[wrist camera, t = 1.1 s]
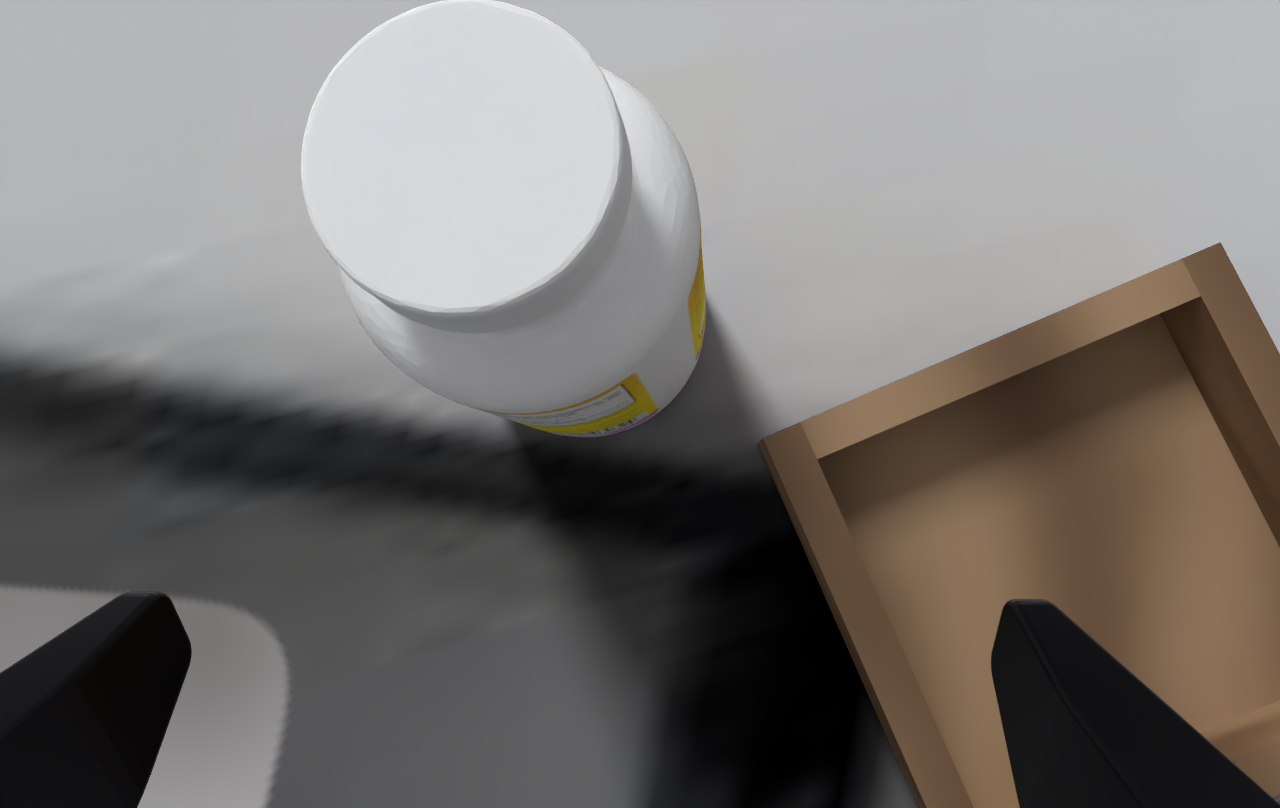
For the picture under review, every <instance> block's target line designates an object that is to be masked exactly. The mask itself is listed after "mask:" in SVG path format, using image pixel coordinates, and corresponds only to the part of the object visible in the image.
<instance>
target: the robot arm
mask: <svg viewBox="0 0 1280 808" xmlns="http://www.w3.org/2000/svg"><path fill="white" fill-rule="evenodd" d="M190 661H191V643H190V640H189V638H188V635H187V633H186V631H185V629H184V627H183V625H182V623H181V620H180V618H179V616H178V614H177V612H176V610H175V607H174V605H173V603H172V601H171V599H170V598H169V597H168V596H167V595H166V594H164V593H162V592H154V591H131V592H126V593H123V594H121V595H119V596H118V597H116V598H115V599H113V600H112V601H110V602H108V603H107V604H106V605H104V606H102V607H101V608H99V609H98V610H96V611H95V612H93V613H92V614H90V615H89V616H87V617H85V618H84V619H82V620H81V621H79V622H78V623H76V624H75V625H73V626H72V627H70V628H69V629H67V630H66V631H64V632H62V633H61V634H59V635H58V636H56V637H55V638H53V639H52V640H50V641H49V642H47V643H45V644H44V645H42V646H41V647H39V648H38V649H36V650H35V651H33V652H32V653H30V654H29V655H27V656H26V657H24V658H23V659H21V660H19V661H18V662H16V663H15V664H13V665H12V666H10V667H9V668H7V669H6V670H4V671H2V672H1V673H0V808H137V806H138V804H139V802H140V800H141V797H142V795H143V793H144V790H145V788H146V785H147V783H148V780H149V777H150V775H151V772H152V769H153V767H154V764H155V761H156V758H157V755H158V752H159V749H160V747H161V744H162V741H163V739H164V736H165V733H166V730H167V727H168V724H169V722H170V719H171V716H172V713H173V710H174V707H175V705H176V702H177V699H178V696H179V694H180V691H181V688H182V685H183V682H184V680H185V677H186V674H187V671H188V668H189V665H190ZM991 672H992V678H993V683H994V688H995V693H996V698H997V702H998V707H999V712H1000V717H1001V722H1002V726H1003V731H1004V736H1005V741H1006V746H1007V750H1008V755H1009V760H1010V765H1011V770H1012V774H1013V779H1014V784H1015V789H1016V793H1017V798H1018V802H1019V807H1020V808H1280V803H1279V802H1278V801H1277V800H1275V799H1274V798H1273V797H1272V796H1271V795H1270V794H1269V793H1268V792H1266V791H1265V790H1264V789H1263V788H1262V787H1261V786H1260V785H1258V784H1257V783H1256V782H1255V781H1254V780H1253V779H1252V778H1251V777H1249V776H1248V775H1247V774H1246V773H1245V772H1244V771H1243V770H1242V769H1240V768H1239V767H1238V766H1237V765H1236V764H1235V763H1234V762H1232V761H1231V760H1230V759H1229V758H1228V757H1227V756H1226V755H1225V754H1223V753H1222V752H1221V751H1220V750H1219V749H1218V748H1217V747H1215V746H1214V745H1213V744H1212V743H1211V742H1210V741H1209V740H1208V739H1206V738H1205V737H1204V736H1203V735H1202V734H1201V733H1200V732H1198V731H1197V730H1196V729H1195V728H1194V727H1193V726H1192V725H1191V724H1189V723H1188V722H1187V721H1186V720H1185V719H1184V718H1183V717H1182V716H1180V715H1179V714H1178V713H1177V712H1176V711H1175V710H1174V709H1172V708H1171V707H1170V706H1169V705H1168V704H1167V703H1166V702H1165V701H1163V700H1162V699H1161V698H1160V697H1159V696H1158V695H1157V694H1155V693H1154V692H1153V691H1152V690H1151V689H1150V688H1149V687H1148V686H1146V685H1145V684H1144V683H1143V682H1142V681H1141V680H1140V679H1138V678H1137V677H1136V676H1135V675H1134V674H1133V673H1132V672H1131V671H1129V670H1128V669H1127V668H1126V667H1125V666H1124V665H1123V664H1122V663H1120V662H1119V661H1118V660H1117V659H1116V658H1115V657H1114V656H1112V655H1111V654H1110V653H1109V652H1108V651H1107V650H1106V649H1105V648H1103V647H1102V646H1101V645H1100V644H1099V643H1098V642H1097V641H1095V640H1094V639H1093V638H1092V637H1091V636H1090V635H1089V634H1088V633H1086V632H1085V631H1084V630H1083V629H1082V628H1081V627H1080V626H1078V625H1077V624H1076V623H1075V622H1074V621H1073V620H1072V619H1071V618H1069V617H1068V616H1067V615H1066V614H1065V613H1064V612H1063V611H1062V610H1060V609H1059V608H1058V607H1057V606H1056V605H1055V604H1053V603H1051V602H1050V601H1048V600H1044V599H1011V600H1009V601H1007V602H1006V603H1005V605H1004V607H1003V609H1002V613H1001V617H1000V621H999V625H998V629H997V633H996V637H995V641H994V645H993V649H992V654H991Z"/></svg>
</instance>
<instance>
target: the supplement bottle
mask: <svg viewBox="0 0 1280 808" xmlns="http://www.w3.org/2000/svg"><path fill="white" fill-rule="evenodd" d="M301 178H302V187H303V194H304V199H305V204H306V207H307V210H308V213H309V215H310V219H311V222H312V224H313V226H314V228H315V231H316V233H317V235H318V237H319V239H320V241H321V242H322V244H323V246H324V247H325V249H326V250H327V252H328V253H329V255H330V256H331V258H332V259H333V260H334V261H335V262H336V264H337V265H338V266H339V269H340V273H341V277H342V281H343V284H344V287H345V290H346V294H347V297H348V299H349V301H350V304H351V306H352V308H353V310H354V312H355V314H356V316H357V318H358V320H359V322H360V323H361V325H362V327H363V328H364V330H365V331H366V333H367V334H368V335H369V337H370V338H371V340H372V341H373V343H374V344H375V345H376V346H377V347H378V349H379V350H380V351H381V352H382V353H383V354H384V355H385V356H386V357H387V358H388V359H389V360H390V361H391V362H392V363H394V364H395V365H396V366H397V367H398V368H399V369H401V370H402V371H403V372H404V373H405V374H407V375H408V376H409V377H411V378H412V379H413V380H415V381H416V382H418V383H419V384H421V385H422V386H424V387H426V388H427V389H429V390H431V391H433V392H435V393H437V394H439V395H441V396H443V397H446V398H448V399H450V400H453V401H455V402H457V403H460V404H463V405H466V406H469V407H472V408H475V409H478V410H482V411H485V412H487V413H491V414H494V415H497V416H500V417H502V418H505V419H508V420H511V421H514V422H517V423H520V424H523V425H526V426H529V427H532V428H535V429H538V430H542V431H545V432H548V433H552V434H557V435H561V436H570V437H599V436H606V435H611V434H615V433H618V432H622V431H625V430H628V429H630V428H633V427H635V426H637V425H639V424H641V423H643V422H645V421H646V420H648V419H650V418H651V417H653V416H654V415H656V414H657V413H659V412H660V411H661V410H662V409H663V408H665V407H666V406H667V405H668V404H669V403H670V402H671V401H672V400H673V399H674V398H675V397H676V396H677V394H678V393H679V392H680V391H681V390H682V388H683V387H684V385H685V384H686V382H687V381H688V379H689V377H690V376H691V374H692V372H693V370H694V368H695V366H696V364H697V361H698V358H699V356H700V352H701V349H702V345H703V341H704V334H705V326H706V297H705V284H704V271H703V260H702V248H701V222H700V213H699V205H698V198H697V192H696V188H695V183H694V179H693V176H692V172H691V169H690V166H689V163H688V161H687V158H686V156H685V154H684V151H683V149H682V147H681V145H680V143H679V141H678V139H677V138H676V136H675V135H674V133H673V131H672V130H671V128H670V127H669V125H668V124H667V122H666V121H665V120H664V118H663V117H662V115H661V114H660V113H659V112H658V111H657V109H656V108H655V107H654V106H653V105H652V104H651V103H650V102H649V101H648V100H647V99H646V98H645V97H644V96H643V95H642V94H641V93H640V92H638V91H637V90H636V89H635V88H633V87H632V86H630V85H629V84H628V83H626V82H625V81H623V80H622V79H620V78H619V77H617V76H616V75H614V74H612V73H611V72H609V71H607V70H605V69H603V68H601V67H599V66H598V65H597V64H596V62H595V61H594V59H593V58H592V57H591V55H590V54H589V52H588V51H587V50H586V49H585V48H584V47H583V46H582V45H581V44H580V43H579V42H578V41H577V40H576V39H575V38H574V37H572V36H571V35H570V34H569V33H567V32H566V31H565V30H564V29H562V28H561V27H559V26H558V25H556V24H555V23H553V22H551V21H550V20H548V19H546V18H544V17H542V16H540V15H538V14H536V13H534V12H532V11H529V10H526V9H523V8H520V7H517V6H514V5H511V4H508V3H504V2H498V1H491V0H448V1H440V2H435V3H430V4H427V5H424V6H420V7H417V8H414V9H412V10H409V11H407V12H405V13H402V14H400V15H398V16H396V17H394V18H392V19H390V20H388V21H387V22H385V23H383V24H382V25H380V26H378V27H377V28H375V29H374V30H372V31H371V32H370V33H368V34H367V35H366V36H364V37H363V38H362V39H360V40H359V41H358V42H357V43H356V44H355V45H354V46H353V47H352V48H351V49H350V50H349V51H348V52H347V53H346V54H345V55H344V56H343V58H342V59H341V60H340V61H339V62H338V64H337V65H336V66H335V67H334V68H333V69H332V71H331V72H330V74H329V76H328V77H327V79H326V80H325V82H324V84H323V86H322V87H321V89H320V91H319V93H318V95H317V97H316V99H315V102H314V104H313V106H312V109H311V112H310V115H309V119H308V123H307V126H306V129H305V133H304V138H303V145H302V153H301Z"/></svg>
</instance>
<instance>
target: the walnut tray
mask: <svg viewBox="0 0 1280 808" xmlns="http://www.w3.org/2000/svg"><path fill="white" fill-rule="evenodd" d="M758 446H759V449H760V451H761V453H762V455H763V458H764V460H765V462H766V464H767V467H768V469H769V471H770V474H771V476H772V478H773V480H774V483H775V485H776V487H777V489H778V492H779V494H780V496H781V498H782V501H783V503H784V505H785V507H786V510H787V512H788V514H789V517H790V519H791V521H792V523H793V526H794V528H795V530H796V532H797V535H798V537H799V539H800V541H801V544H802V546H803V548H804V550H805V553H806V555H807V557H808V560H809V562H810V564H811V566H812V569H813V571H814V573H815V575H816V578H817V580H818V582H819V584H820V587H821V589H822V591H823V593H824V596H825V598H826V600H827V603H828V605H829V607H830V609H831V612H832V614H833V616H834V618H835V621H836V623H837V625H838V627H839V630H840V632H841V634H842V636H843V639H844V641H845V643H846V646H847V648H848V650H849V652H850V655H851V657H852V659H853V661H854V664H855V666H856V668H857V670H858V673H859V675H860V677H861V679H862V682H863V684H864V686H865V689H866V691H867V693H868V695H869V698H870V700H871V702H872V704H873V707H874V709H875V711H876V713H877V716H878V718H879V720H880V722H881V725H882V727H883V729H884V731H885V734H886V736H887V738H888V741H889V743H890V745H891V747H892V750H893V752H894V754H895V756H896V759H897V761H898V763H899V765H900V768H901V770H902V772H903V774H904V777H905V779H906V781H907V784H908V786H909V788H910V790H911V793H912V795H913V797H914V799H915V802H916V804H917V806H918V808H1020V807H1019V802H1018V798H1017V793H1016V789H1015V784H1014V779H1013V774H1012V770H1011V765H1010V760H1009V755H1008V750H1007V746H1006V741H1005V736H1004V731H1003V726H1002V722H1001V717H1000V712H999V707H998V702H997V698H996V693H995V688H994V683H993V678H992V672H991V654H992V649H993V645H994V641H995V637H996V633H997V629H998V625H999V621H1000V617H1001V613H1002V609H1003V607H1004V605H1005V603H1006V602H1007V601H1009V600H1011V599H1044V600H1048V601H1050V602H1051V603H1053V604H1055V605H1056V606H1057V607H1058V608H1059V609H1060V610H1062V611H1063V612H1064V613H1065V614H1066V615H1067V616H1068V617H1069V618H1071V619H1072V620H1073V621H1074V622H1075V623H1076V624H1077V625H1078V626H1080V627H1081V628H1082V629H1083V630H1084V631H1085V632H1086V633H1088V634H1089V635H1090V636H1091V637H1092V638H1093V639H1094V640H1095V641H1097V642H1098V643H1099V644H1100V645H1101V646H1102V647H1103V648H1105V649H1106V650H1107V651H1108V652H1109V653H1110V654H1111V655H1112V656H1114V657H1115V658H1116V659H1117V660H1118V661H1119V662H1120V663H1122V664H1123V665H1124V666H1125V667H1126V668H1127V669H1128V670H1129V671H1131V672H1132V673H1133V674H1134V675H1135V676H1136V677H1137V678H1138V679H1140V680H1141V681H1142V682H1143V683H1144V684H1145V685H1146V686H1148V687H1149V688H1150V689H1151V690H1152V691H1153V692H1154V693H1155V694H1157V695H1158V696H1159V697H1160V698H1161V699H1162V700H1163V701H1165V702H1166V703H1167V704H1168V705H1169V706H1170V707H1171V708H1172V709H1174V710H1175V711H1176V712H1177V713H1178V714H1179V715H1180V716H1182V717H1183V718H1184V719H1185V720H1186V721H1187V722H1188V723H1189V724H1191V725H1192V726H1193V727H1194V728H1195V729H1196V730H1197V731H1198V732H1200V733H1201V734H1202V735H1203V736H1204V737H1205V738H1206V739H1208V740H1209V741H1210V742H1211V743H1212V744H1213V745H1214V746H1215V747H1217V748H1218V749H1219V750H1220V751H1221V752H1222V753H1223V754H1225V755H1226V756H1227V757H1228V758H1229V759H1230V760H1231V761H1232V762H1234V763H1235V764H1236V765H1237V766H1238V767H1239V768H1240V769H1242V770H1243V771H1244V772H1245V773H1246V774H1247V775H1248V776H1249V777H1251V778H1252V779H1253V780H1254V781H1255V782H1256V783H1257V784H1258V785H1260V786H1261V787H1262V788H1263V789H1264V790H1265V791H1266V792H1268V793H1269V794H1270V795H1271V796H1272V797H1275V796H1277V795H1280V354H1279V352H1278V350H1277V348H1276V346H1275V344H1274V342H1273V341H1272V339H1271V337H1270V335H1269V333H1268V331H1267V329H1266V327H1265V325H1264V324H1263V322H1262V320H1261V318H1260V316H1259V314H1258V312H1257V310H1256V308H1255V307H1254V305H1253V303H1252V301H1251V299H1250V297H1249V295H1248V293H1247V291H1246V290H1245V288H1244V286H1243V284H1242V282H1241V280H1240V278H1239V276H1238V274H1237V273H1236V271H1235V269H1234V267H1233V265H1232V263H1231V261H1230V259H1229V257H1228V256H1227V254H1226V252H1225V250H1224V248H1223V246H1222V244H1221V242H1220V243H1218V244H1215V245H1213V246H1211V247H1208V248H1206V249H1204V250H1201V251H1199V252H1197V253H1194V254H1192V255H1190V256H1187V257H1185V258H1183V259H1180V260H1178V261H1176V262H1173V263H1171V264H1169V265H1166V266H1164V267H1162V268H1159V269H1157V270H1155V271H1152V272H1150V273H1148V274H1145V275H1143V276H1141V277H1138V278H1136V279H1134V280H1131V281H1129V282H1127V283H1124V284H1122V285H1120V286H1117V287H1115V288H1112V289H1110V290H1108V291H1105V292H1103V293H1101V294H1098V295H1096V296H1094V297H1091V298H1089V299H1087V300H1084V301H1082V302H1080V303H1077V304H1075V305H1073V306H1070V307H1068V308H1066V309H1063V310H1061V311H1059V312H1056V313H1054V314H1052V315H1049V316H1047V317H1045V318H1042V319H1040V320H1038V321H1035V322H1033V323H1031V324H1028V325H1026V326H1024V327H1021V328H1019V329H1017V330H1014V331H1012V332H1010V333H1007V334H1005V335H1003V336H1000V337H998V338H996V339H993V340H991V341H989V342H986V343H984V344H982V345H979V346H977V347H975V348H972V349H970V350H968V351H965V352H963V353H961V354H958V355H956V356H954V357H951V358H949V359H947V360H944V361H942V362H940V363H937V364H935V365H933V366H930V367H928V368H926V369H923V370H921V371H919V372H916V373H914V374H912V375H909V376H907V377H905V378H902V379H900V380H898V381H895V382H893V383H890V384H888V385H886V386H883V387H881V388H879V389H876V390H874V391H872V392H869V393H867V394H865V395H862V396H860V397H858V398H855V399H853V400H851V401H848V402H846V403H844V404H841V405H839V406H837V407H834V408H832V409H830V410H827V411H825V412H823V413H820V414H818V415H816V416H813V417H811V418H809V419H806V420H804V421H802V422H799V423H797V424H795V425H792V426H790V427H788V428H785V429H783V430H781V431H778V432H776V433H774V434H771V435H769V436H767V437H764V438H762V440H761V441H760V442H759V443H758Z"/></svg>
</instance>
